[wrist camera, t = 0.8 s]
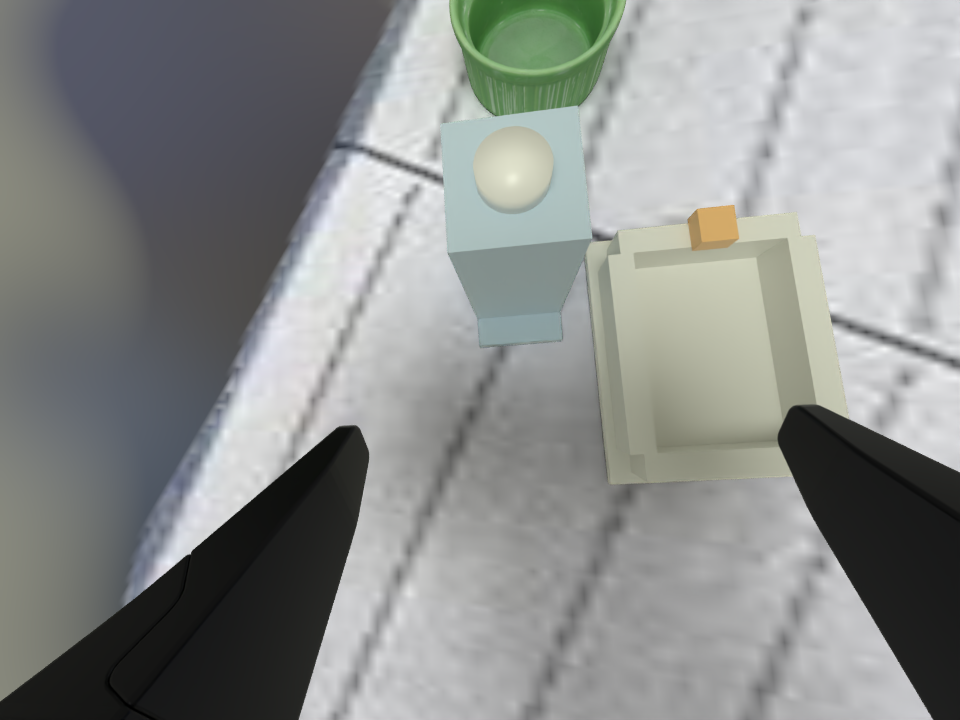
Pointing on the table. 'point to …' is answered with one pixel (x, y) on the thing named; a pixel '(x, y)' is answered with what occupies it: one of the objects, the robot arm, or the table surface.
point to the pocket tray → (708, 345)
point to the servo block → (516, 219)
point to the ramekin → (534, 50)
